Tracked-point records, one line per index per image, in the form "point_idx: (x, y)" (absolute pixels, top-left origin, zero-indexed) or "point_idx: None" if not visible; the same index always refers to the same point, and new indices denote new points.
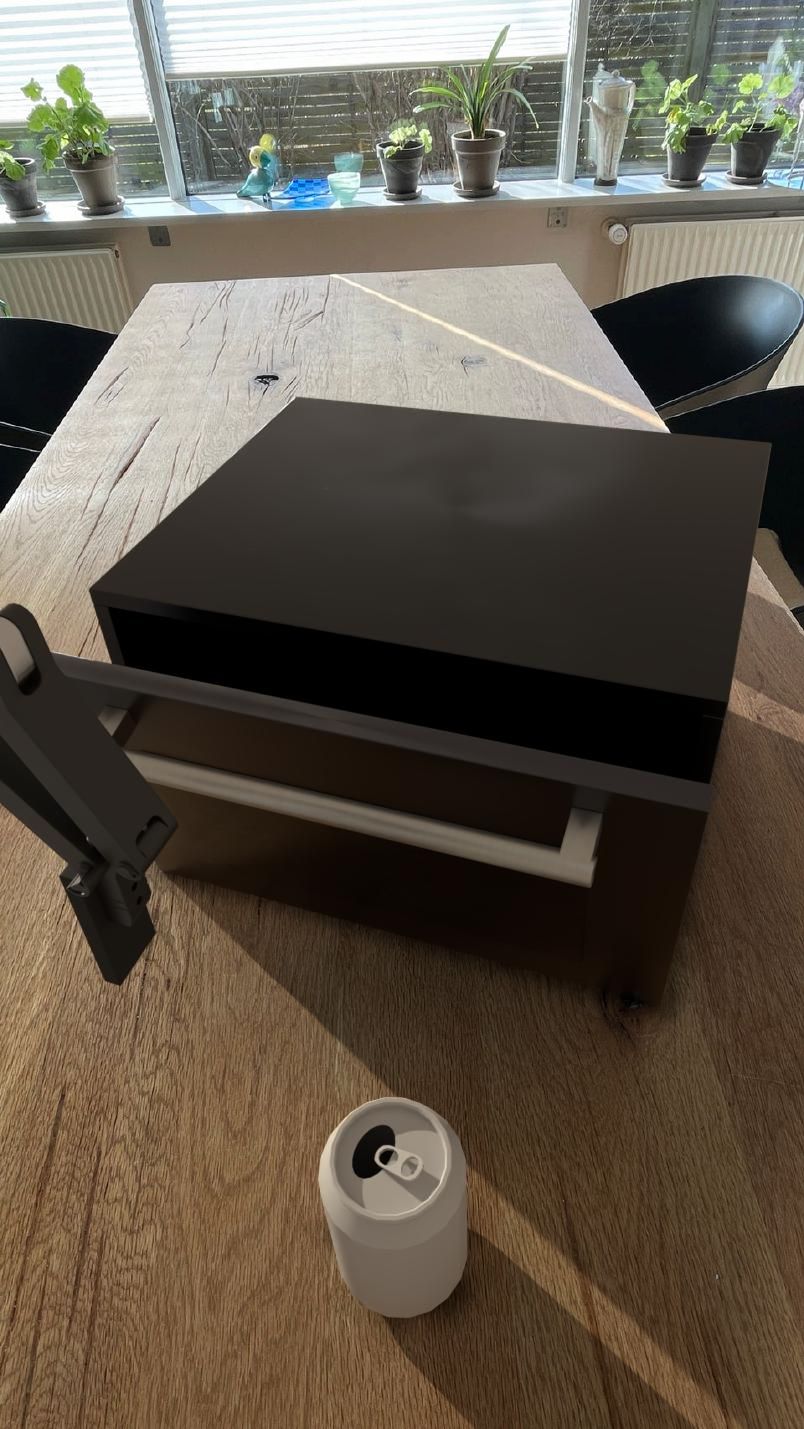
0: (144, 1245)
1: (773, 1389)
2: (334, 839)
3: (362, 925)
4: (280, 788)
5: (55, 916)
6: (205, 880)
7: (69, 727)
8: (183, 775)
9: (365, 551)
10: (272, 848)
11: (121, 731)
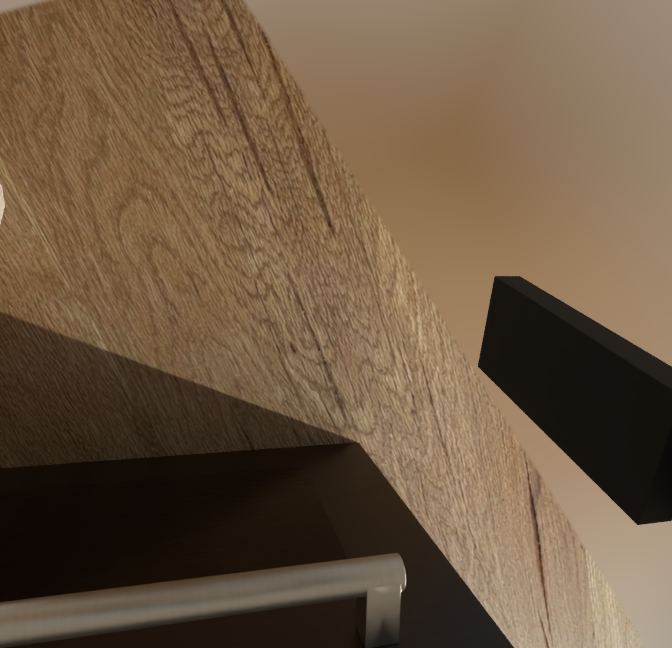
0: (182, 124)
1: None
2: (113, 552)
3: (142, 458)
4: (84, 631)
5: (429, 371)
6: (310, 448)
7: None
8: (237, 596)
9: None
10: (210, 510)
11: (362, 616)
